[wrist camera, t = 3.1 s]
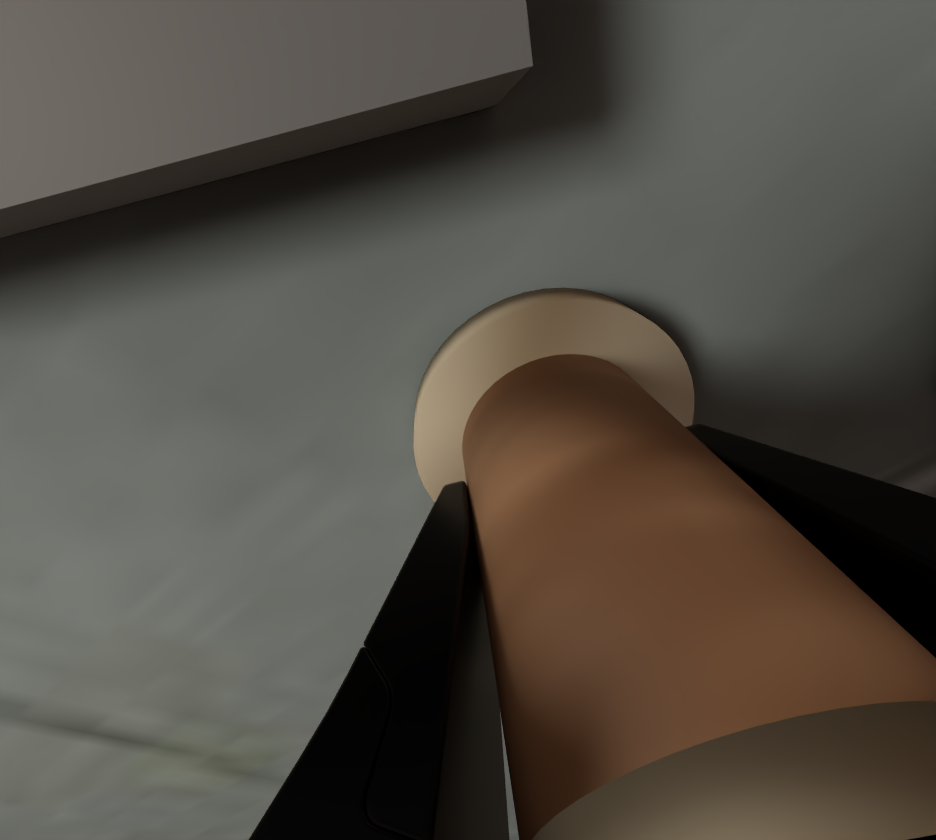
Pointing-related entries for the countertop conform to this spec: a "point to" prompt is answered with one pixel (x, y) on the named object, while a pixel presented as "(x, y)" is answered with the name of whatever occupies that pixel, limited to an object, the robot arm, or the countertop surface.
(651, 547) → the spool
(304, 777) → the robot arm
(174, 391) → the countertop surface
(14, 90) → the gray u-shaped block
